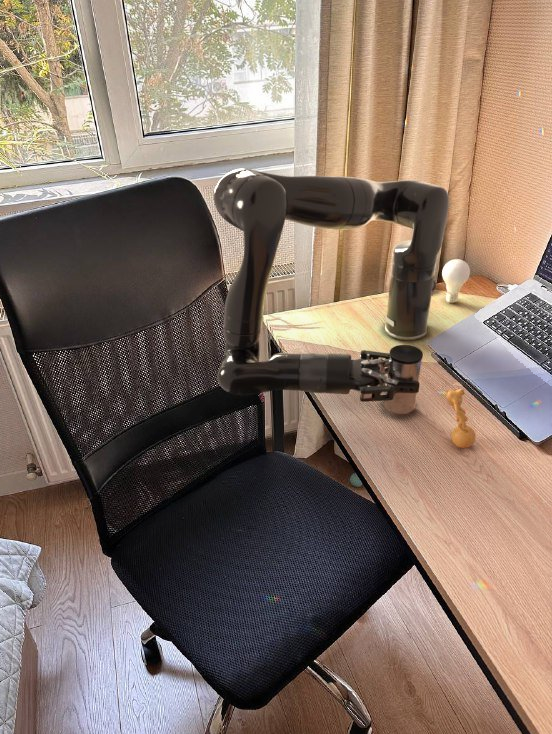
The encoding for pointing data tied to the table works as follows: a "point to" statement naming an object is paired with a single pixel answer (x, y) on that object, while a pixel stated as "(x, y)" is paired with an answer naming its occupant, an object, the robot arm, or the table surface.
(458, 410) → the figurine
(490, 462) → the table surface
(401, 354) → the canister
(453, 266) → the lightbulb
